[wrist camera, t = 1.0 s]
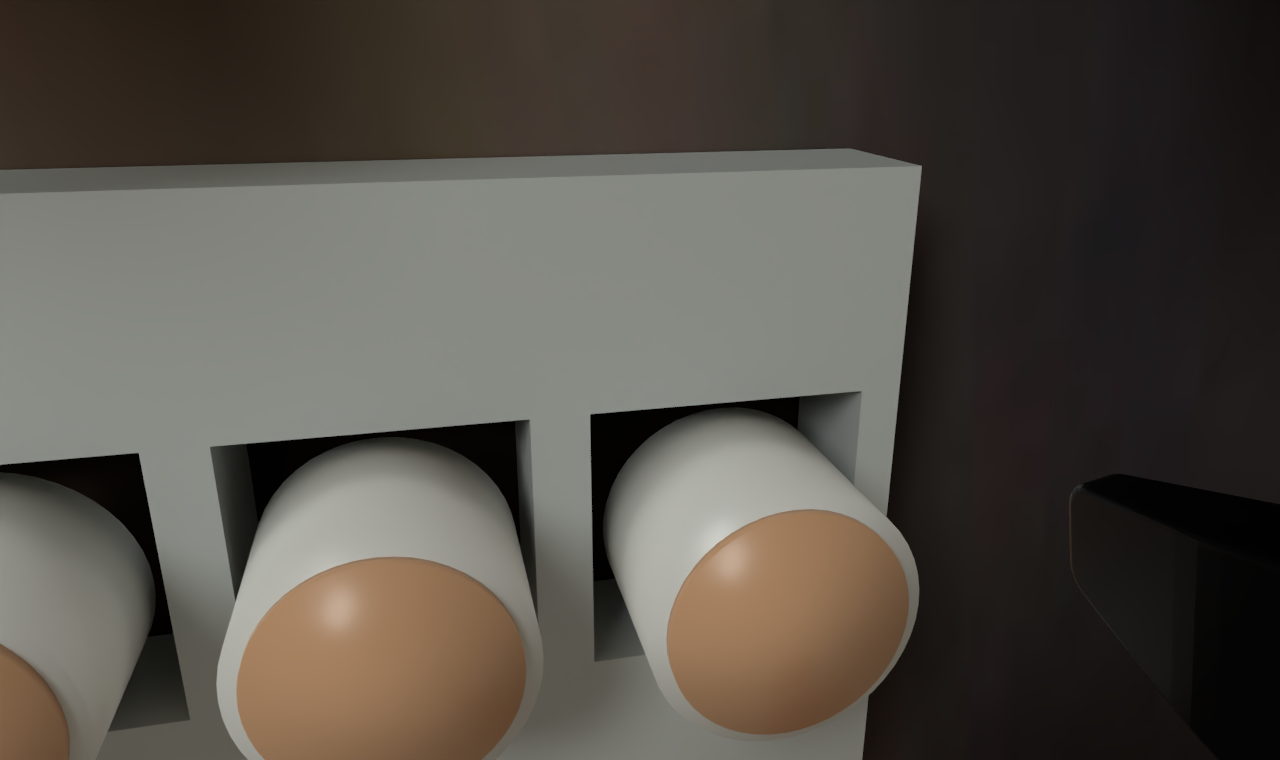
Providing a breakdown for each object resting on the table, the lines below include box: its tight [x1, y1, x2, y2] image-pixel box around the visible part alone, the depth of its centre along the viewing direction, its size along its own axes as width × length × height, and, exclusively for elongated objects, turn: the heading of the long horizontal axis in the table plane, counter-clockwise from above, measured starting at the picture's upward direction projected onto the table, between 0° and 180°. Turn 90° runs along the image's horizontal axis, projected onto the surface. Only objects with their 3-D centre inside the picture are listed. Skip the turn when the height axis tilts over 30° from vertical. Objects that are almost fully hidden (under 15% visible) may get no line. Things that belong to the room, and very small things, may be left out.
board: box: [0, 149, 922, 760], centre depth 19 cm, size 20×14×3 cm
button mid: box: [216, 437, 544, 760], centre depth 16 cm, size 5×5×4 cm
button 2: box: [603, 407, 919, 741], centre depth 18 cm, size 5×5×4 cm
